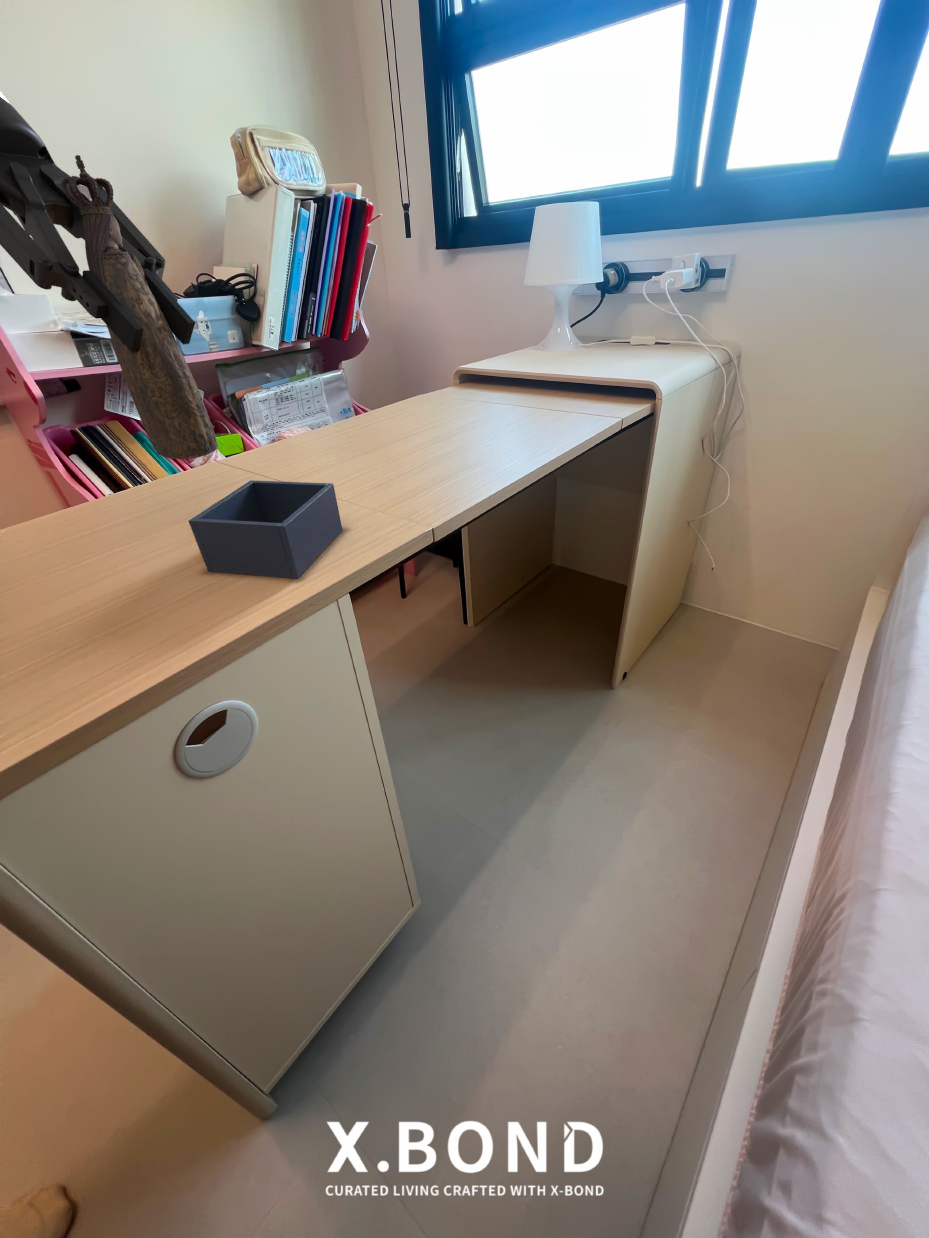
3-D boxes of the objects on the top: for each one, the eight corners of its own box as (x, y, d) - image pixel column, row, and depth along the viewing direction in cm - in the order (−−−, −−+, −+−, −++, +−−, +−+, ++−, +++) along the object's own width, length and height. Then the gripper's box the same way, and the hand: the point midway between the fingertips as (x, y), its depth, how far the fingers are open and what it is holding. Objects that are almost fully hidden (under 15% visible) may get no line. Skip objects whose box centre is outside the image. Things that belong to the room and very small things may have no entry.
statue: (236, 433, 60) (123, 150, 44) (209, 461, 55) (69, 147, 38) (168, 439, 61) (33, 163, 45) (135, 466, 56) (-34, 162, 39)
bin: (207, 571, 64) (187, 520, 60) (263, 526, 75) (250, 480, 71) (298, 579, 61) (284, 526, 57) (342, 530, 72) (333, 483, 68)
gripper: (76, 181, 55) (227, 353, 58) (-141, 160, 42) (67, 382, 45) (81, 105, 50) (246, 298, 53) (-164, 55, 37) (73, 314, 40)
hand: (164, 336), depth 49 cm, fingers closed on statue, 5 cm apart
